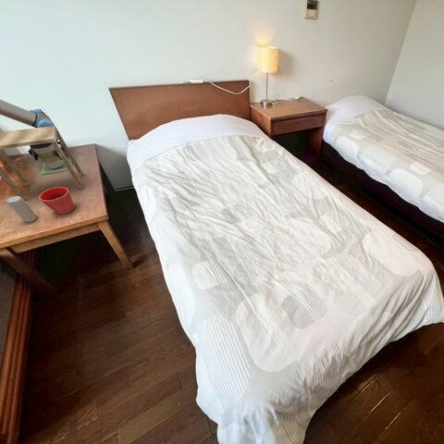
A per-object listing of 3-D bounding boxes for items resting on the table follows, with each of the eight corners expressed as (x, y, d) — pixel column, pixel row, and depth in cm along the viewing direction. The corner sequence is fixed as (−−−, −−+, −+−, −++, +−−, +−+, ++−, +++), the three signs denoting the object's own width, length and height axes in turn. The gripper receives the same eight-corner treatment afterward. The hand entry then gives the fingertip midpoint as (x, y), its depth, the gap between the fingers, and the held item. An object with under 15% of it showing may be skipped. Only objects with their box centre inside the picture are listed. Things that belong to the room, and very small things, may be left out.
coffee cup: (52, 171, 140) (35, 146, 130) (40, 167, 142) (22, 142, 132) (69, 163, 147) (55, 139, 137) (57, 159, 149) (42, 136, 139)
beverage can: (32, 214, 117) (15, 194, 109) (40, 217, 117) (23, 197, 108) (21, 221, 114) (2, 200, 106) (29, 223, 113) (11, 203, 105)
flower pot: (79, 211, 121) (68, 196, 115) (50, 219, 116) (37, 203, 110) (78, 200, 127) (68, 184, 121) (51, 206, 122) (39, 190, 116)
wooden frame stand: (22, 201, 123) (-24, 148, 104) (26, 184, 133) (-15, 133, 113) (84, 188, 135) (53, 138, 115) (83, 174, 144) (55, 125, 125)
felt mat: (41, 175, 140) (40, 174, 140) (43, 163, 148) (42, 162, 148) (71, 169, 146) (71, 169, 146) (72, 159, 155) (71, 158, 154)
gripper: (74, 142, 157) (73, 159, 144) (30, 148, 148) (25, 166, 134) (67, 131, 152) (66, 147, 139) (22, 136, 143) (15, 154, 129)
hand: (46, 156), depth 137 cm, fingers closed on coffee cup, 9 cm apart
